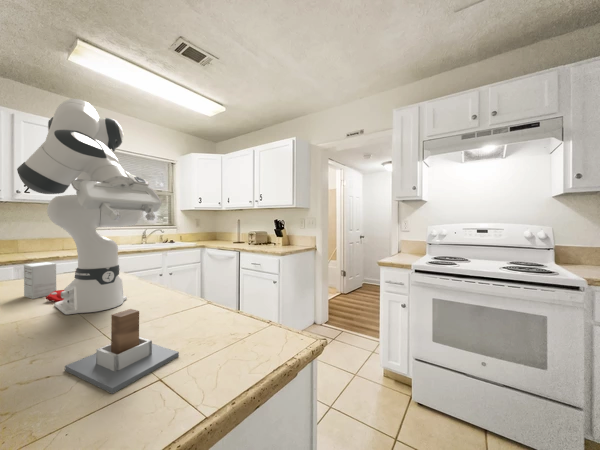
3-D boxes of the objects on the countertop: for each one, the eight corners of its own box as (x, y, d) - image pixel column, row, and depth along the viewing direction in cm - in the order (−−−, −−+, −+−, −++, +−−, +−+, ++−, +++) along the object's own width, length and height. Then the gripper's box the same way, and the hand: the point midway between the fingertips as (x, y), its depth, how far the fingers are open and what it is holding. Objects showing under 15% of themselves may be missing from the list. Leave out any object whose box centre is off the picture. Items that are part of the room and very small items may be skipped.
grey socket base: (65, 370, 52) (65, 351, 52) (133, 341, 65) (134, 325, 65) (112, 393, 45) (112, 371, 45) (178, 356, 58) (178, 338, 58)
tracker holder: (76, 299, 94) (42, 295, 90) (74, 310, 95) (39, 306, 91) (90, 284, 105) (60, 280, 101) (88, 293, 106) (58, 290, 102)
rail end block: (111, 361, 54) (111, 314, 54) (130, 352, 57) (130, 308, 57) (119, 364, 53) (120, 317, 52) (138, 355, 56) (139, 310, 56)
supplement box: (48, 291, 106) (48, 261, 106) (56, 294, 103) (56, 263, 103) (23, 296, 100) (23, 264, 99) (31, 299, 96) (31, 266, 96)
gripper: (73, 168, 62) (96, 208, 58) (152, 181, 81) (173, 211, 77) (63, 187, 64) (85, 227, 60) (142, 195, 83) (163, 226, 79)
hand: (135, 218), depth 69 cm, fingers open, 8 cm apart
